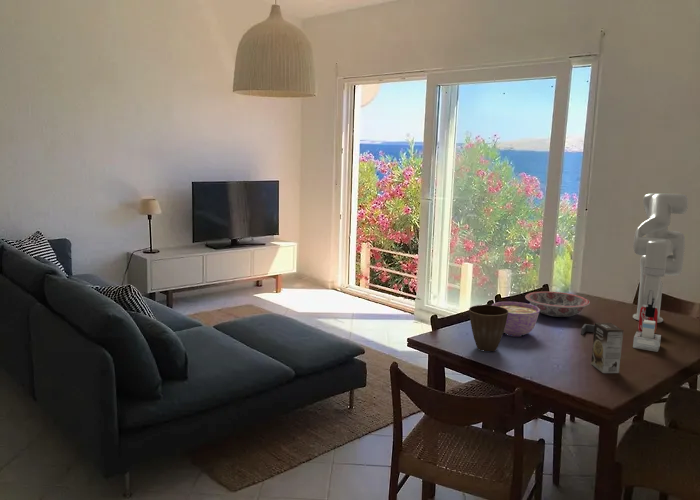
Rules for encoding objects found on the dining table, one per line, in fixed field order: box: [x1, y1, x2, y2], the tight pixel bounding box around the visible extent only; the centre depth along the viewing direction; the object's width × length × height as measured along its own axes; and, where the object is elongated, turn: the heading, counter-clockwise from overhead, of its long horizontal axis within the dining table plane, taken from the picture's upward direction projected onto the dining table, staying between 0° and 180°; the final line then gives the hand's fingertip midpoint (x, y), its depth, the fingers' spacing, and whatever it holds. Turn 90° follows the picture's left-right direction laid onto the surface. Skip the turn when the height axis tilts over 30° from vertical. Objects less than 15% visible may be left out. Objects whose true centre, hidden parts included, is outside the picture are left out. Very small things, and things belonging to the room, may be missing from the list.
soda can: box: [637, 304, 658, 334], centre depth 256 cm, size 7×7×12 cm
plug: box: [642, 320, 655, 339], centre depth 238 cm, size 4×4×10 cm
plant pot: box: [468, 304, 508, 352], centre depth 232 cm, size 15×15×16 cm
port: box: [632, 330, 662, 353], centre depth 238 cm, size 9×9×4 cm
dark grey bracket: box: [580, 323, 595, 336], centre depth 254 cm, size 7×7×3 cm
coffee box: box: [590, 322, 624, 374], centre depth 212 cm, size 9×6×16 cm
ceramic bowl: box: [524, 291, 590, 318], centre depth 282 cm, size 29×29×8 cm
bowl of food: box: [491, 301, 540, 337], centre depth 252 cm, size 20×20×12 cm
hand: (649, 316), depth 236 cm, fingers closed
